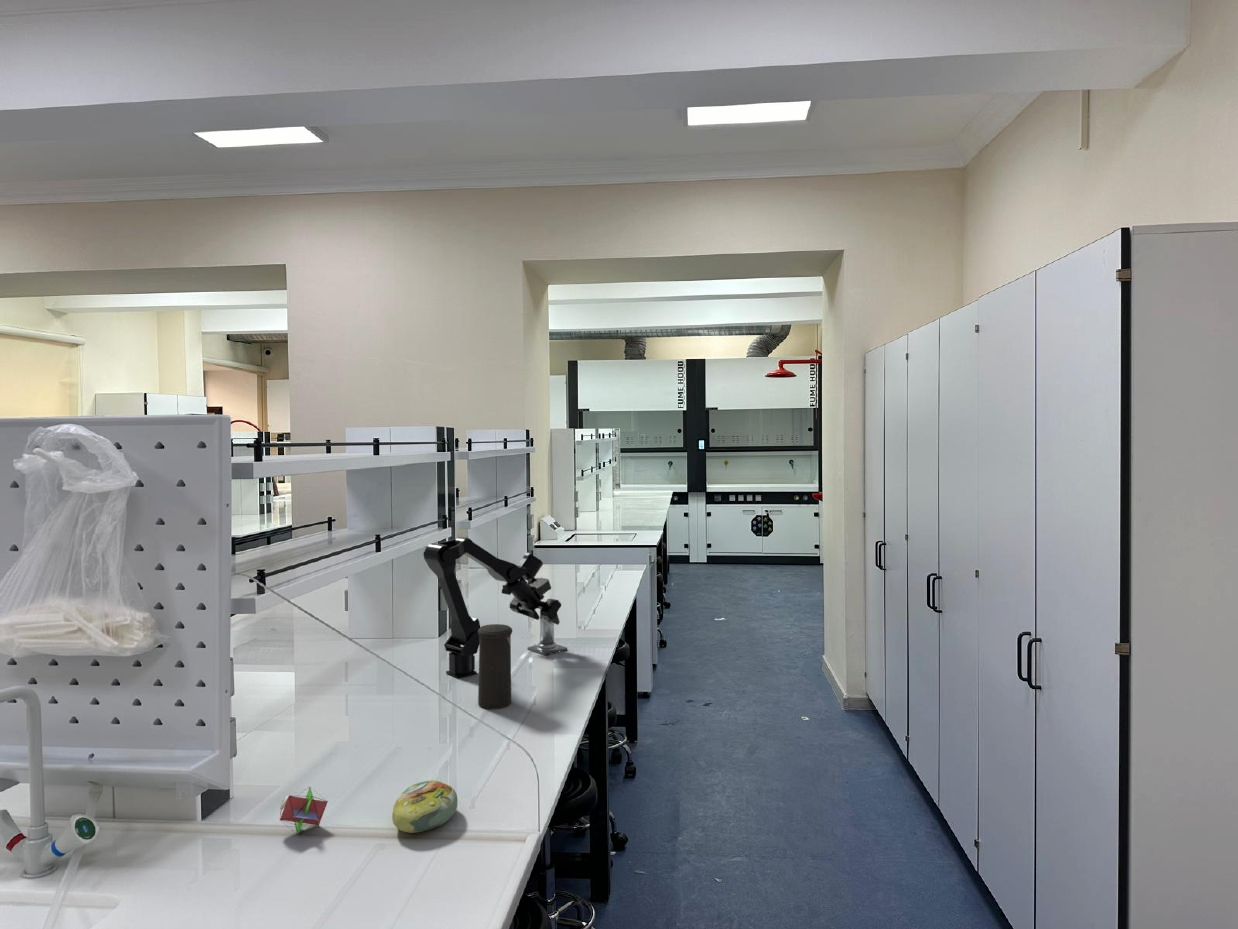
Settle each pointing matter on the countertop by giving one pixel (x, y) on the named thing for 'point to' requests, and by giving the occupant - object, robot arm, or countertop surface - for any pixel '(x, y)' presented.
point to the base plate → (545, 652)
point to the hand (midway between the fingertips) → (548, 621)
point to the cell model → (424, 806)
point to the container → (494, 666)
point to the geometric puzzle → (302, 810)
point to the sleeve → (546, 635)
